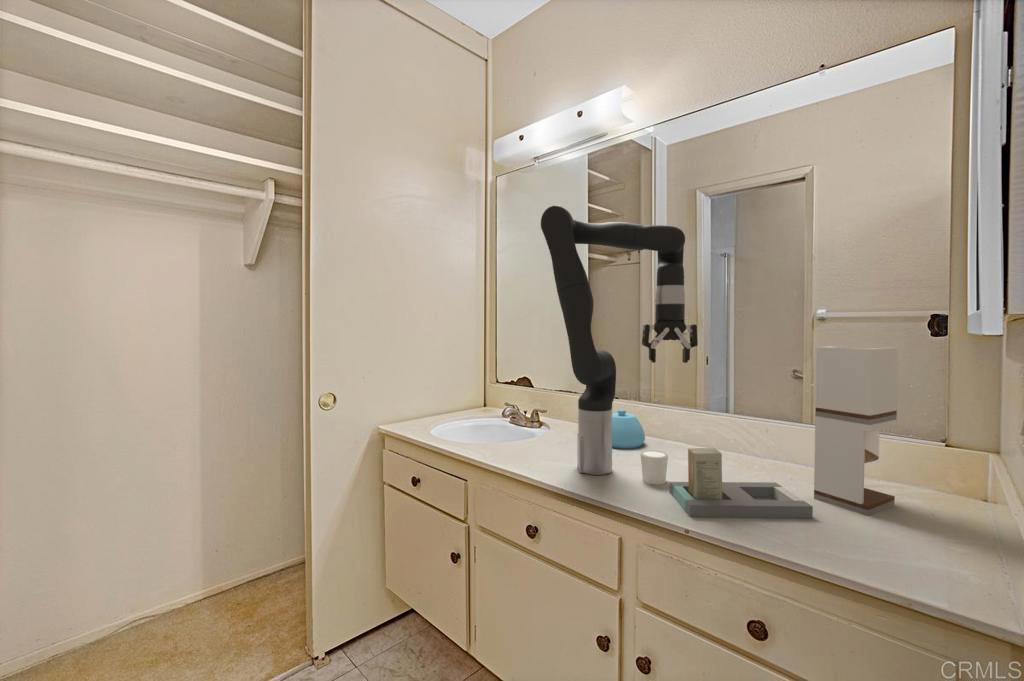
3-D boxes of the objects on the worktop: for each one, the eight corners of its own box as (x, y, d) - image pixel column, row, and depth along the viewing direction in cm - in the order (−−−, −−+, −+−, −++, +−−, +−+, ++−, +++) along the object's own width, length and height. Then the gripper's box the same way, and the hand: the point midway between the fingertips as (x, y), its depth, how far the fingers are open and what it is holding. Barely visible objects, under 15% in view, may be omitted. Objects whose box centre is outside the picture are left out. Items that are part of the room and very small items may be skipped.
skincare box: (715, 500, 103) (716, 447, 102) (723, 508, 99) (723, 453, 98) (686, 499, 103) (687, 447, 103) (692, 507, 99) (693, 452, 99)
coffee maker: (867, 515, 94) (871, 349, 93) (813, 498, 104) (816, 347, 102) (894, 505, 100) (898, 347, 98) (841, 489, 109) (844, 345, 108)
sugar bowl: (591, 444, 151) (591, 410, 151) (612, 435, 163) (612, 404, 162) (632, 452, 142) (632, 416, 141) (652, 442, 153) (652, 409, 153)
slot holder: (690, 517, 94) (690, 505, 94) (669, 492, 108) (669, 481, 108) (812, 518, 93) (812, 506, 93) (775, 492, 107) (775, 482, 107)
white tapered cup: (669, 478, 118) (669, 451, 118) (666, 486, 112) (666, 459, 111) (642, 474, 121) (642, 448, 121) (638, 482, 115) (638, 455, 114)
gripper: (646, 302, 118) (646, 363, 119) (701, 302, 118) (700, 363, 118) (640, 303, 126) (639, 361, 127) (691, 303, 125) (690, 361, 126)
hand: (669, 362), depth 123 cm, fingers open, 8 cm apart
